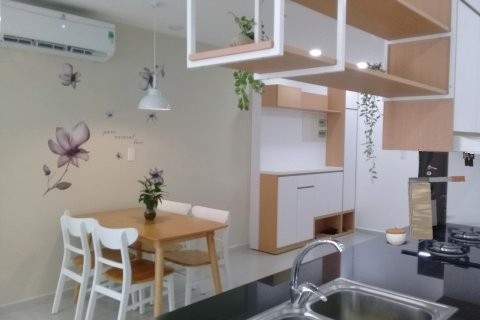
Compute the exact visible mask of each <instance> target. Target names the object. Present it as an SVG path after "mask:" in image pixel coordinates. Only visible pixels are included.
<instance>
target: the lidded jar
mask: <svg viewBox="0 0 480 320" xmlns="http://www.w3.org/2000/svg"><path fill="white" fill-rule="evenodd" d="M385 236H386V239H387V242H388V243H389V244H390V245H392V246H403V244H404V243H405V242H406V240H407V239H406V238H407V230H406V229H404V228H398V227H397V226H395V227H394V228H388V229H387V228H386V229H385Z"/></svg>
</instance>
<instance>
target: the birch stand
mask: <svg viewBox="0 0 480 320" xmlns="http://www.w3.org/2000/svg"><path fill="white" fill-rule="evenodd" d="M407 197H408V200H407V201H408V218H409V219H408V220H409V235H410V236H411V238H412V239H413V240H433V238H434V235H433V234H434V233H433V226H432V211H431V189H430V183H429V178H427V177H418V176H415V177H408V181H407Z"/></svg>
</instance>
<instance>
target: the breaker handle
mask: <svg viewBox="0 0 480 320" xmlns="http://www.w3.org/2000/svg"><path fill="white" fill-rule="evenodd" d="M465 177H466V176H465V175H451V176H436V177H435V176H434V177H429V182H436V183H446V182H448V183H449V182H453V183H459V182H464V183H465V182H466V178H465Z"/></svg>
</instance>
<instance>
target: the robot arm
mask: <svg viewBox="0 0 480 320" xmlns="http://www.w3.org/2000/svg"><path fill="white" fill-rule="evenodd" d="M434 155H435V154H434V152H422V151H419V150H418V171H417V172H418V173H417V177H427V178H429V177H435V176H434V175H426V174H427V173H426V172H427V169H428V167H429V165H430V163H431V162H432V160H433V158H434ZM462 156H463V157H462V159H464V166H465V167H470V168H471V167H472V168H473V167H474V160H475V153H474V154H470V153H465V152H463V151H462ZM429 183H430V189H431V211H432V227H433V226H437V225H438V220H437V219H438V218H437V182H429Z"/></svg>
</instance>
